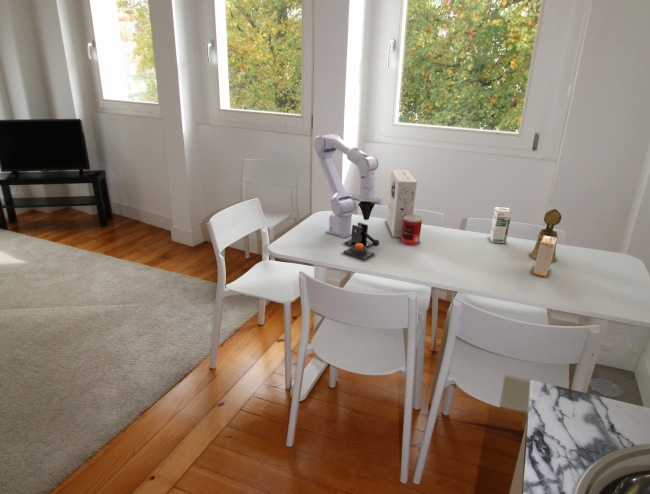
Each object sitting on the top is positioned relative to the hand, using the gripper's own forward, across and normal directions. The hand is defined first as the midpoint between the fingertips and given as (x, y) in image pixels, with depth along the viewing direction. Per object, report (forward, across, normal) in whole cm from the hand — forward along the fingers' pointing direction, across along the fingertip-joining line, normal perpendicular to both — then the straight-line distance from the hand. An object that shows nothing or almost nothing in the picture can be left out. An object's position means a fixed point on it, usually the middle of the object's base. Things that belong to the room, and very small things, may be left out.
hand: (366, 219), depth 193 cm
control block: (+11, +5, -12) cm, 17 cm away
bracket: (+10, -1, -4) cm, 11 cm away
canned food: (+11, +13, +14) cm, 22 cm away
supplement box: (+14, +64, +22) cm, 69 cm away
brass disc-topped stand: (+14, +60, +39) cm, 73 cm away
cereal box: (+10, +1, +24) cm, 26 cm away
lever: (+7, +3, -4) cm, 8 cm away
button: (+8, +5, -12) cm, 16 cm away
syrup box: (+13, +40, +42) cm, 60 cm away
